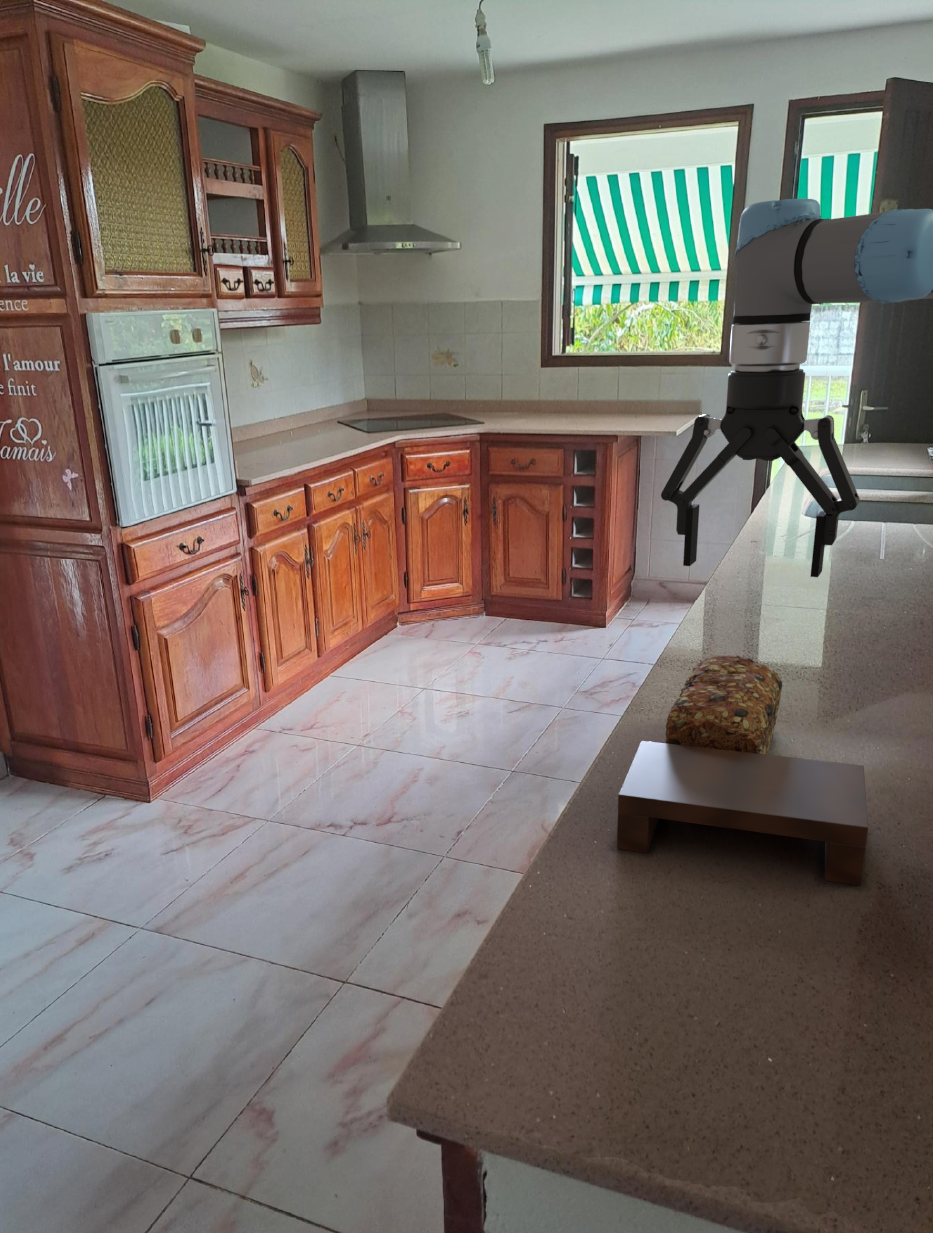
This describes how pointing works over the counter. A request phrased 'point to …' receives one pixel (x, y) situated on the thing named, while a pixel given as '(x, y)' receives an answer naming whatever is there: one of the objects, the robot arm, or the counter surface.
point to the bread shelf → (748, 799)
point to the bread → (726, 706)
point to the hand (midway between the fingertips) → (751, 568)
